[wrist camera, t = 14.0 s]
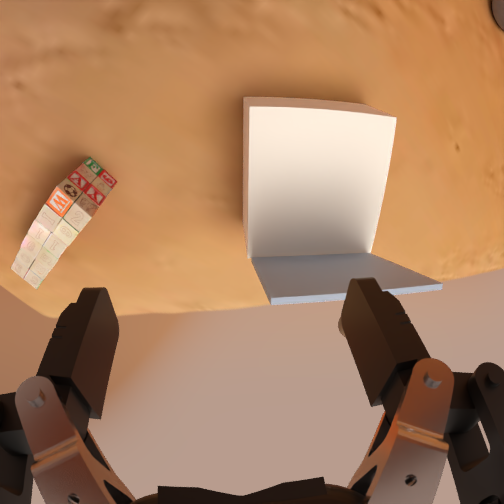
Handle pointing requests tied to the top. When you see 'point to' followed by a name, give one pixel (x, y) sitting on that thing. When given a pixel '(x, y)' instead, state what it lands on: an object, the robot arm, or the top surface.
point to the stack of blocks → (62, 220)
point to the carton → (313, 175)
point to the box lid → (333, 277)
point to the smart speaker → (498, 12)
